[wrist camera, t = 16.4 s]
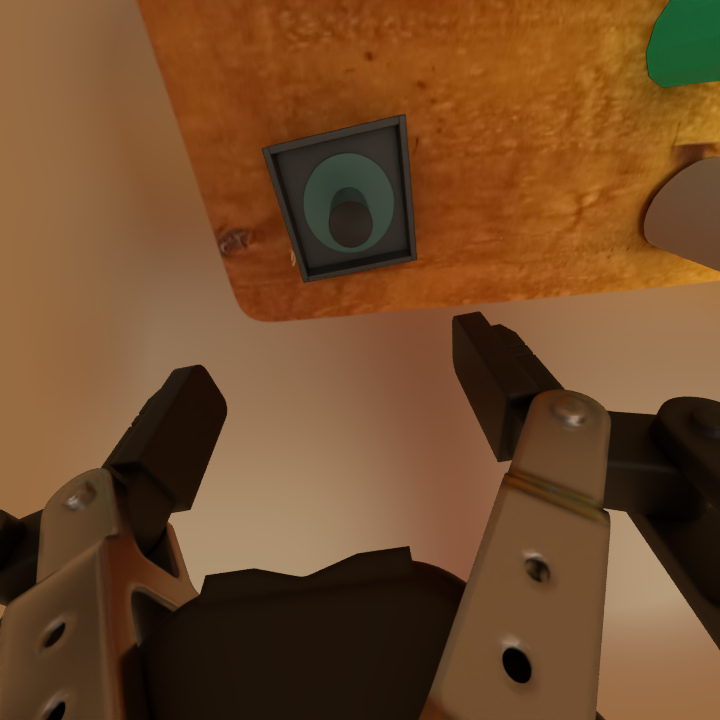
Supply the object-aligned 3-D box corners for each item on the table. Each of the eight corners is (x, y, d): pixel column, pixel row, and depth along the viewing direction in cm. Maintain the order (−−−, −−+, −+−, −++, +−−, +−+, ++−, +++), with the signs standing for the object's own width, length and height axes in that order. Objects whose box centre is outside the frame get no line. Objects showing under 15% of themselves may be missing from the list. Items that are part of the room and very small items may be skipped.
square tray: (306, 272, 31) (304, 283, 29) (267, 146, 25) (261, 148, 23) (412, 251, 30) (417, 260, 28) (400, 115, 24) (405, 113, 22)
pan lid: (317, 256, 29) (312, 288, 24) (292, 163, 25) (277, 174, 19) (397, 240, 29) (411, 267, 23) (386, 141, 24) (399, 146, 19)
